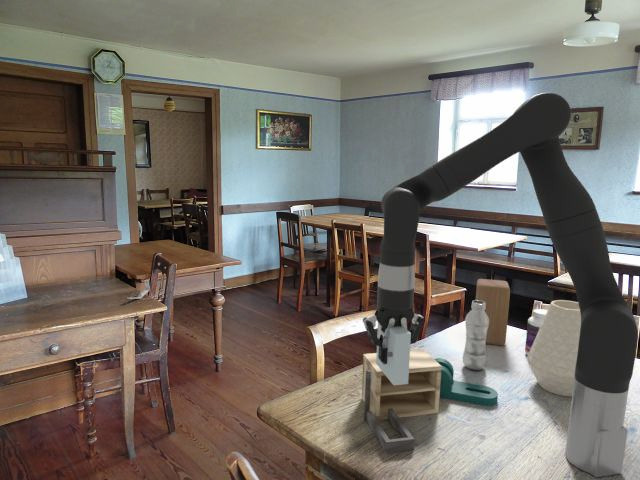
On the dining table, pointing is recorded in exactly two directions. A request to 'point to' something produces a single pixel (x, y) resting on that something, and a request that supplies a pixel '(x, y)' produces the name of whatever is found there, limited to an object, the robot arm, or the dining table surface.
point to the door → (396, 355)
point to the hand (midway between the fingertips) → (392, 361)
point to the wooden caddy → (400, 397)
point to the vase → (557, 348)
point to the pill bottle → (534, 327)
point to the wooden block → (495, 308)
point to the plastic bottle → (476, 336)
